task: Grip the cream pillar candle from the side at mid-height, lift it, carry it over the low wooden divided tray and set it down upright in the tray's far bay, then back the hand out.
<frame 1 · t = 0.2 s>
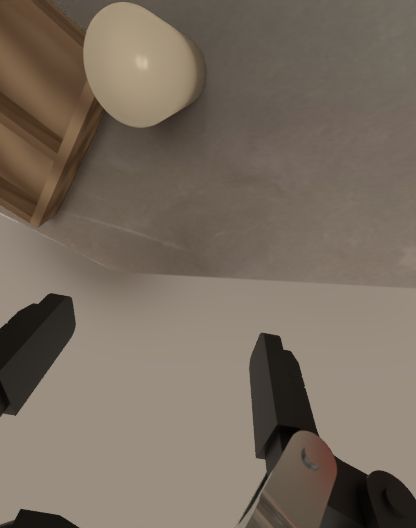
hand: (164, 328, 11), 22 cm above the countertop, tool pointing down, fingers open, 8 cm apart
wooden divided tray: (32, 115, 27), on the countertop
cream pillar candle: (177, 72, 23), on the countertop
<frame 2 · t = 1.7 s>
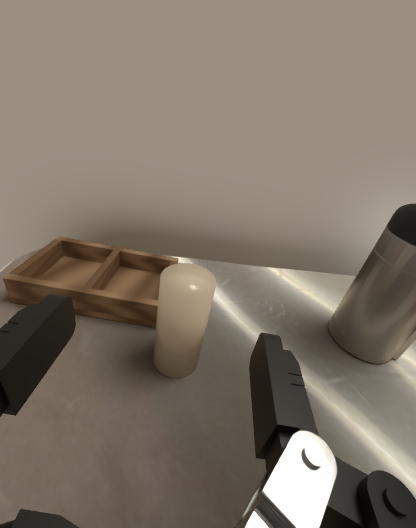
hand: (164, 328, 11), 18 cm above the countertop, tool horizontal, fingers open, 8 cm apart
wooden divided tray: (104, 288, 39), on the countertop
cream pillar candle: (176, 357, 30), on the countertop
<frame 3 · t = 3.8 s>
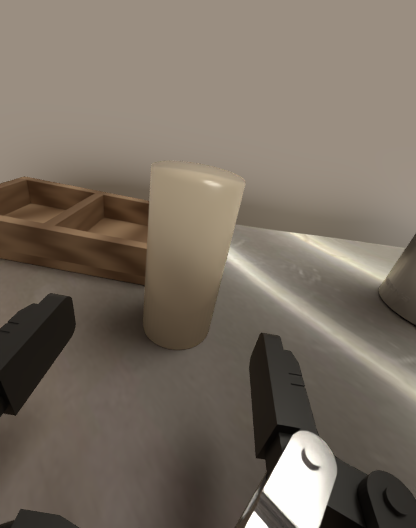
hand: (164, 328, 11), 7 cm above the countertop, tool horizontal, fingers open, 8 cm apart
wooden divided tray: (81, 240, 29), on the countertop
cream pillar candle: (176, 322, 21), on the countertop
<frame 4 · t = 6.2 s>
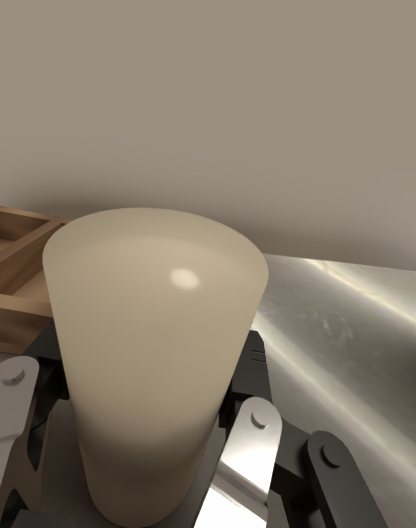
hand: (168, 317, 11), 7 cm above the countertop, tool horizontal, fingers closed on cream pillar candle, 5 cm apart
wooden divided tray: (27, 287, 21), on the countertop
cream pillar candle: (145, 452, 13), on the countertop, touching gripper
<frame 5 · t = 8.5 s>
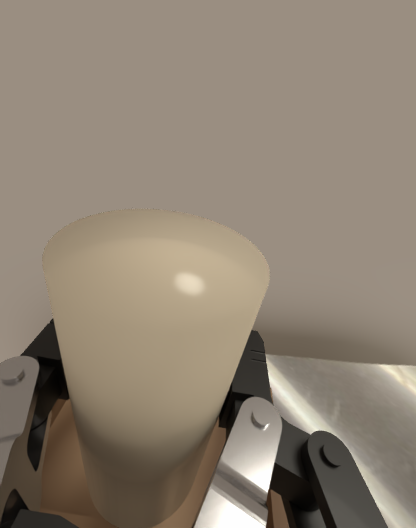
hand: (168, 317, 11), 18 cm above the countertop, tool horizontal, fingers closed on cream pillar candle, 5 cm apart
wooden divided tray: (152, 456, 22), on the countertop
cream pillar candle: (145, 453, 13), point 11 cm above the countertop, touching gripper
when the fingers open (9 cm above the countertop, at t = 11.1 s): cream pillar candle drops 1 cm, resting on wooden divided tray.
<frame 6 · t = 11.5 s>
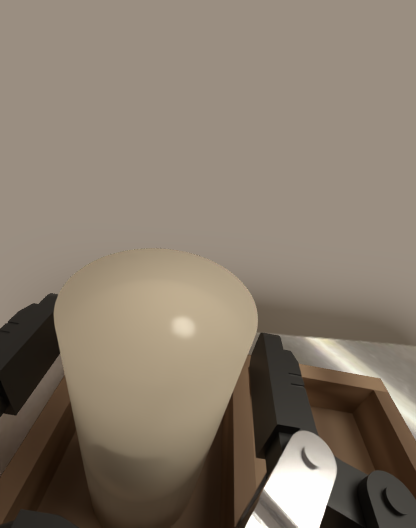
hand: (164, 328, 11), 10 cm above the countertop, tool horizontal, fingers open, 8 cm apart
wooden divided tray: (226, 486, 14), on the countertop
cream pillar candle: (145, 468, 13), point 1 cm above the countertop, touching wooden divided tray
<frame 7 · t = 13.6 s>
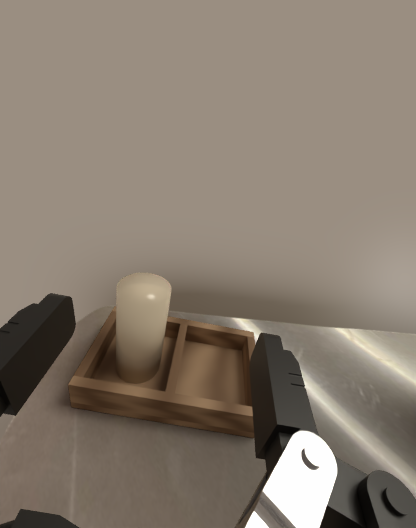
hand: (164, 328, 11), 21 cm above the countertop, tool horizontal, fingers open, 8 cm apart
wooden divided tray: (174, 374, 32), on the countertop
cream pillar candle: (138, 363, 31), point 1 cm above the countertop, touching wooden divided tray
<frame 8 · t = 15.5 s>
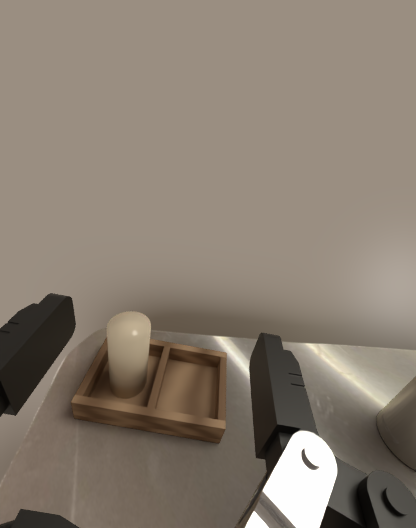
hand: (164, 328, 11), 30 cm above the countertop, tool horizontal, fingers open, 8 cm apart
wooden divided tray: (158, 389, 39), on the countertop
cream pillar candle: (128, 381, 38), point 1 cm above the countertop, touching wooden divided tray
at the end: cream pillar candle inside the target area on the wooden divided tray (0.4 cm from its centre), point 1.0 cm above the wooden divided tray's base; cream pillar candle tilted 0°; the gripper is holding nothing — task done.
